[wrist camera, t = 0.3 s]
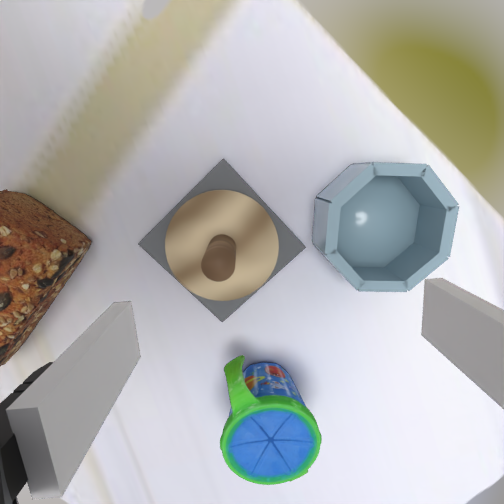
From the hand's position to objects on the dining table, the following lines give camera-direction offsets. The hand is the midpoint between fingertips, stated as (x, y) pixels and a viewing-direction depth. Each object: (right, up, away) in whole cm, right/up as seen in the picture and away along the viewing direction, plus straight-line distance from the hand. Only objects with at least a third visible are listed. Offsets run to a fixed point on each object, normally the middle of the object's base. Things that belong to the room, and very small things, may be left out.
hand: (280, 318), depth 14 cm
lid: (-5, +4, +23) cm, 24 cm away
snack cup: (0, -15, +29) cm, 33 cm away
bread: (-29, 0, +24) cm, 38 cm away
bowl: (+13, +7, +24) cm, 28 cm away
